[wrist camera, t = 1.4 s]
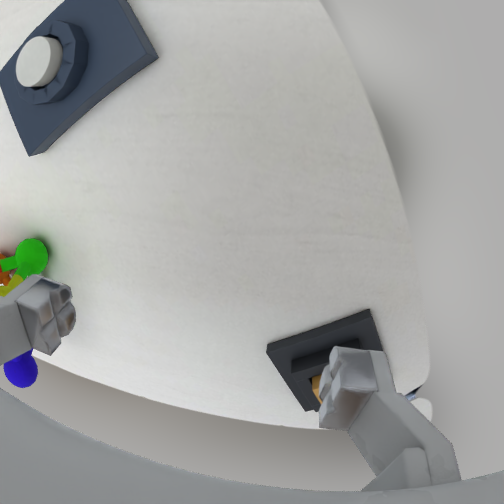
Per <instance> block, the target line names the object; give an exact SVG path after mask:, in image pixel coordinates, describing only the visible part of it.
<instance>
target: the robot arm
mask: <svg viewBox="0 0 504 504" xmlns="http://www.w3.org/2000/svg"><path fill="white" fill-rule="evenodd" d="M72 297H73V296H72V292H71V288H70V287H69V286H67V285H65V284H63V283H60V282H57V281H54V280H51V279H49V278H45V277H43V276H40V275H37V274H32V275H30V276H29V277H28V278H27V279H25V280H24V281H23V282H22V283H20V284H19V285H18V286H17V287H16V288H14V289H13V290H12V291H11V292H9V293H8V294H7V295H6V296H5V297H3V296H0V365H2V364H4V363H6V362H8V361H10V360H12V359H14V358H16V357H18V356H19V355H21V354H23V353H25V352H27V351H29V350H31V349H32V348H34V349H36V350H38V351H41V352H43V353H45V354H48V355H50V356H51V355H52V353H53V352H54V351H55V350H56V349H57V347H58V346H59V345H60V344H61V337H64V336H66V335H68V334H69V333H70V332H71V331H72V329H73V327H74V324H75V322H76V312H75V308H74V306H73V305H72V303H71V302H70V300H71V299H72ZM329 360H330V364H329V365H327V366H325V367H324V370H323V373H322V375H321V379H320V384H319V398H320V399H321V401H322V404H321V406H320V408H319V428H326V429H335V430H346V431H348V434H349V435H350V437H351V438H352V440H353V441H354V443H355V444H356V446H357V448H358V449H359V451H360V452H361V454H362V455H363V457H364V458H365V460H366V461H367V463H368V464H369V466H370V467H371V469H372V470H373V472H374V473H375V475H376V476H377V477H376V478H375V479H374V480H372V481H371V482H370V483H369V484H368V485H367V486H366V487H365V488H364V489H362V490H361V491H356V492H355V491H346V492H345V491H314V490H300V489H289V488H279V487H271V486H263V485H256V484H250V483H243V482H237V481H232V480H227V479H222V478H217V477H213V476H208V475H204V474H199V473H195V472H191V471H187V470H184V469H180V468H177V467H173V466H170V465H166V464H163V463H160V462H156V461H153V460H150V459H147V458H144V457H141V456H138V455H135V454H133V453H130V452H127V451H124V450H122V449H119V448H117V447H114V446H111V445H109V444H106V443H104V442H102V441H99V440H97V439H94V438H92V437H90V436H88V435H85V434H83V433H81V432H79V431H77V430H74V429H72V428H70V427H68V426H66V425H64V424H62V423H60V422H58V421H56V420H54V419H52V418H50V417H49V416H47V415H45V414H43V413H41V412H39V411H38V410H36V409H34V408H32V407H31V406H29V405H27V404H25V403H24V402H22V401H20V400H19V399H17V398H15V397H14V396H12V395H10V394H9V393H7V392H6V391H4V390H3V389H1V388H0V504H504V470H503V471H500V472H496V473H492V474H488V475H485V476H480V477H476V478H471V479H467V480H462V481H461V476H460V472H459V469H458V464H457V460H456V456H455V452H454V449H453V445H452V443H451V442H450V441H449V440H448V439H447V438H445V436H444V435H443V434H442V433H441V432H440V431H439V430H438V429H437V428H436V427H435V426H434V425H433V424H432V423H431V422H430V421H429V420H428V419H427V418H426V417H425V416H424V415H423V414H422V413H421V412H420V411H419V410H417V409H416V408H415V407H414V406H413V405H412V404H411V403H410V402H409V401H408V400H407V399H406V398H405V397H404V396H403V395H402V394H401V393H396V389H395V385H394V381H393V378H392V374H391V370H390V367H389V363H388V359H387V356H386V353H385V352H384V351H374V350H361V349H353V348H345V347H338V346H334V348H333V349H332V351H331V353H330V356H329Z"/></svg>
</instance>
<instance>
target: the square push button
mask: <svg viewBox="0 0 504 504" xmlns="http://www.w3.org/2000/svg"><path fill="white" fill-rule="evenodd" d="M334 346H338V347H345V348H353V349H361V350H374V351H383V348H382V345H381V342H380V339H379V336H378V333H377V330H376V327H375V324H374V321H373V318H372V315H371V312H370V310H369V309H368V310H365V311H363V312H360V313H357V314H355V315H352V316H350V317H347V318H344V319H341V320H339V321H336V322H333V323H330V324H328V325H325V326H322V327H319V328H316V329H313V330H310V331H308V332H305V333H302V334H299V335H296V336H293V337H290V338H286V339H283V340H280V341H277V342H274V343H271V344H268V345H267V351H266V353H267V355H268V356H269V358H270V359H271V361H272V362H273V364H274V365H275V367H276V368H277V370H278V371H279V373H280V375H281V376H282V378H283V379H284V381H285V382H286V384H287V385H288V387H289V388H290V390H291V391H292V393H293V394H294V396H295V397H296V399H297V400H298V402H299V403H300V404H301V406H302V407H303V409H304V410H305V412H306V411H310V410H314V411H315V412H318V411H319V408H320V406H321V404H320V402H319V400H318V399H317V397H316V395H315V394H314V392H313V390H312V377H314V376H318V375H321V374H322V373H323V370H324V367H325V366H327V365H329V364H330V360H329V356H330V353H331V351H332V349H333V348H334Z"/></svg>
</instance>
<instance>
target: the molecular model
mask: <svg viewBox="0 0 504 504" xmlns="http://www.w3.org/2000/svg"><path fill="white" fill-rule="evenodd" d="M47 263H48V253H47V250H46V247H45V246H44V245H43V243H42V242H41V241H39V240H37V239H35V238H30V239H25V240H24V241H22V242H21V243H20V244H19V245H18V247H17V249H16V252H15V256H11V257H8V258H6V256H4V255H3V254H1V253H0V284H2V283H3V285H4V286H0V296H3V297H5V296H6V295H7V294H8V293H9V292H11V291H12V290H13V289H14V288H16V287H17V286H18V285H19V284H20V283H22V282H23V281H24V280H25V279H26V277H27V276H28V277H29V276H30V275H32V274H37V275H38V274H40V273H41V272H42V271H43V270H44V269H45V267H46V265H47ZM15 268H17V270H16V272H15V273H14V275H13V277H12V279H11V278H10V277H9V274H10V270H12V269H15ZM32 351H33V348H32V349H31V350H29V351H27V352H25V353H23V354H21V355H19V356H18V357H16V358H14V359H12V360H10V361H8V362H6V363H4V372H5V375H6V377H7V378H8V380H9V381H10V382H11V383H12V384H13V385H15V386H17V387H20V388H25V387H29V386H31V385H32V384H33V383H34V382H35V381H36V377H37V374H38V369H37V365H36V362H35V360H34V358H33V357H32V356H31V354H32Z"/></svg>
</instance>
